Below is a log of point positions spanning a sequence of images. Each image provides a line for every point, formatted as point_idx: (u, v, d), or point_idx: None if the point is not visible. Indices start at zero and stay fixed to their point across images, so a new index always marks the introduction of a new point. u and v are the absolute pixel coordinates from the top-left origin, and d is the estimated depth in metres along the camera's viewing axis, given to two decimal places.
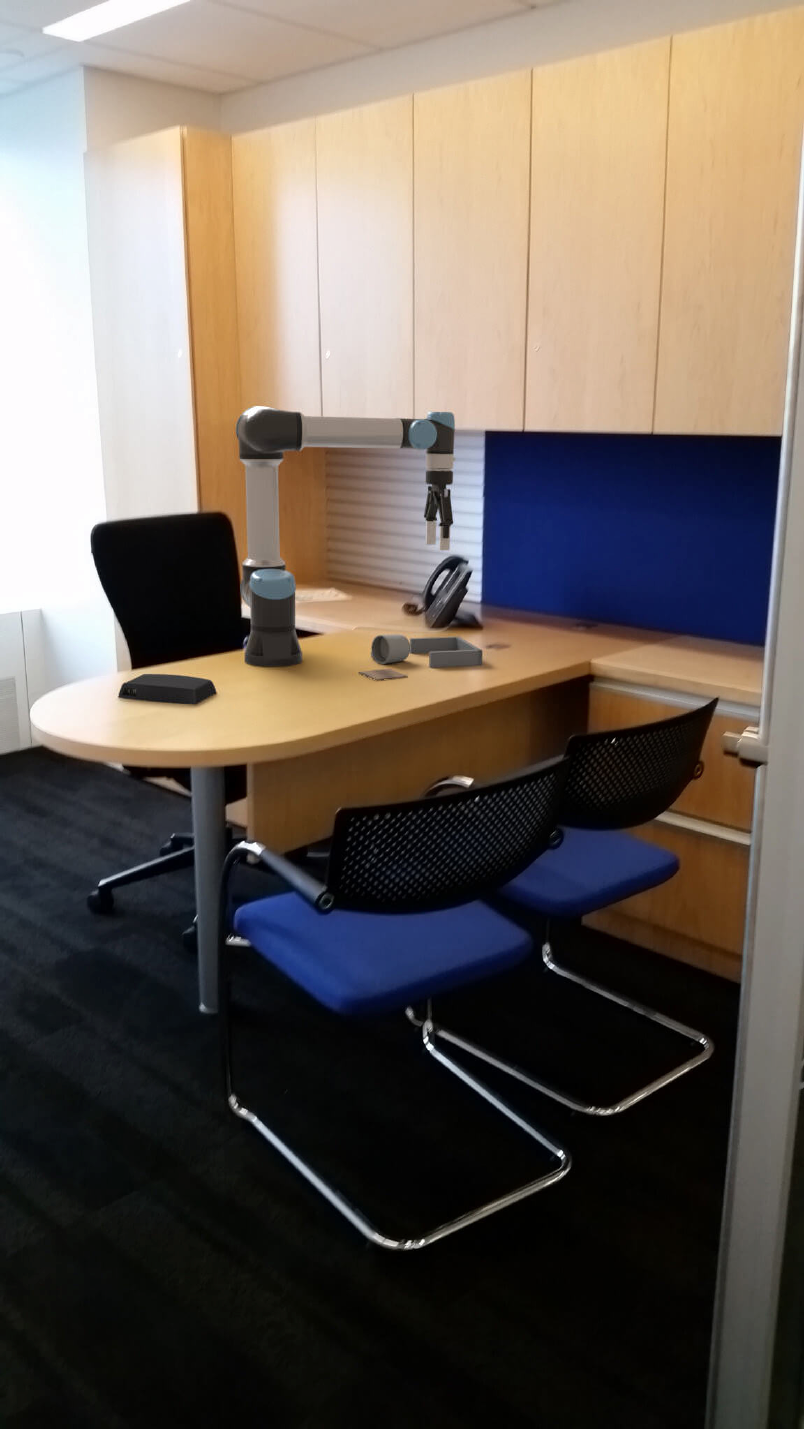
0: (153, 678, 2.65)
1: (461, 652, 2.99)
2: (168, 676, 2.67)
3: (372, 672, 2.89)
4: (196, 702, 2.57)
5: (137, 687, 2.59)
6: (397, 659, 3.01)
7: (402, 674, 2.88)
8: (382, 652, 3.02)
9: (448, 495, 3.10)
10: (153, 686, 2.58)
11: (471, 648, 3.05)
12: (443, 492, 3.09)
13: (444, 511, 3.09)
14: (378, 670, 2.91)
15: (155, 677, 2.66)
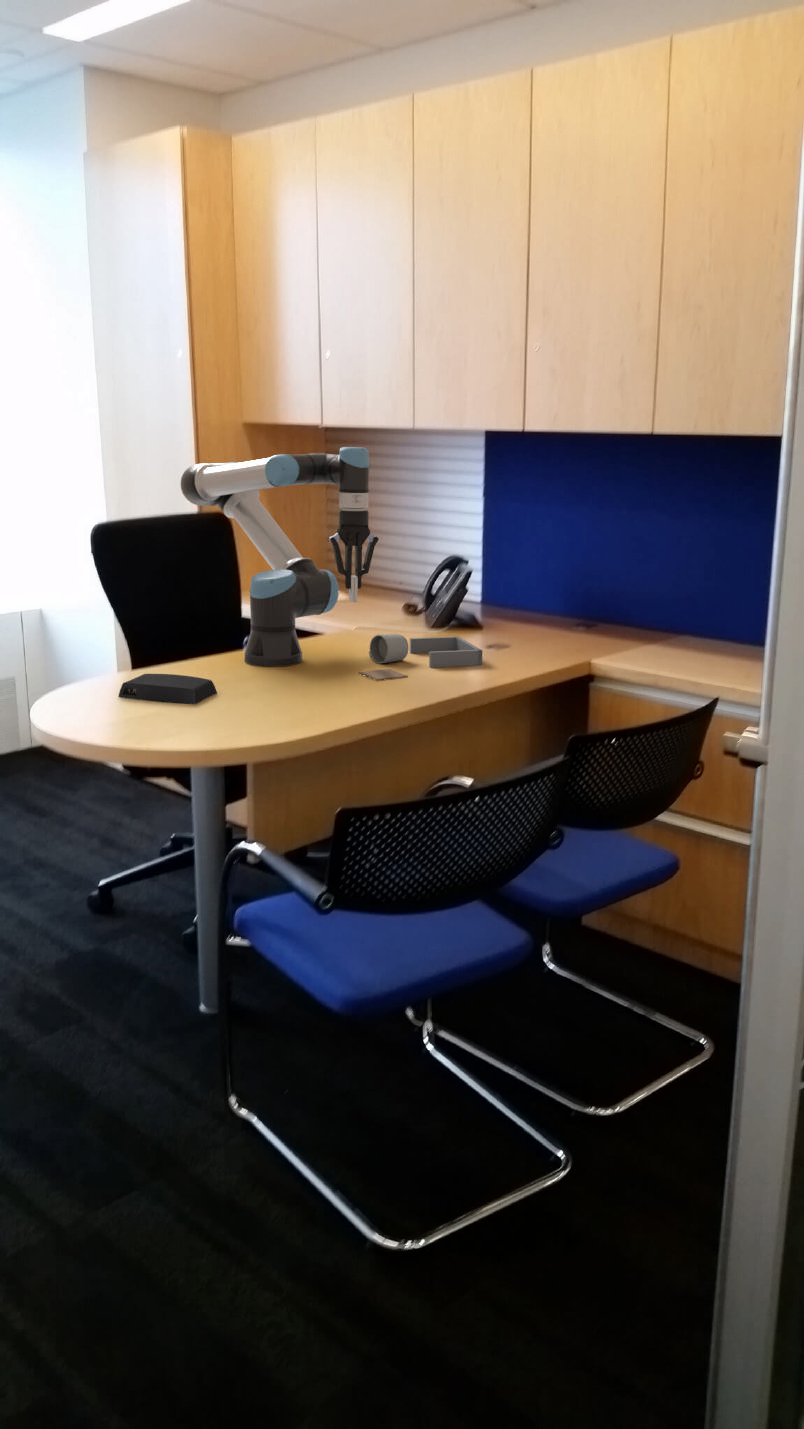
0: (153, 678, 2.65)
1: (461, 652, 2.99)
2: (169, 676, 2.67)
3: (372, 672, 2.89)
4: (195, 702, 2.57)
5: (137, 686, 2.60)
6: (395, 659, 3.02)
7: (402, 674, 2.88)
8: (380, 652, 3.02)
9: (332, 544, 2.91)
10: (153, 686, 2.58)
11: (471, 648, 3.05)
12: (330, 541, 2.92)
13: (336, 560, 2.94)
14: (378, 670, 2.91)
15: (156, 677, 2.66)
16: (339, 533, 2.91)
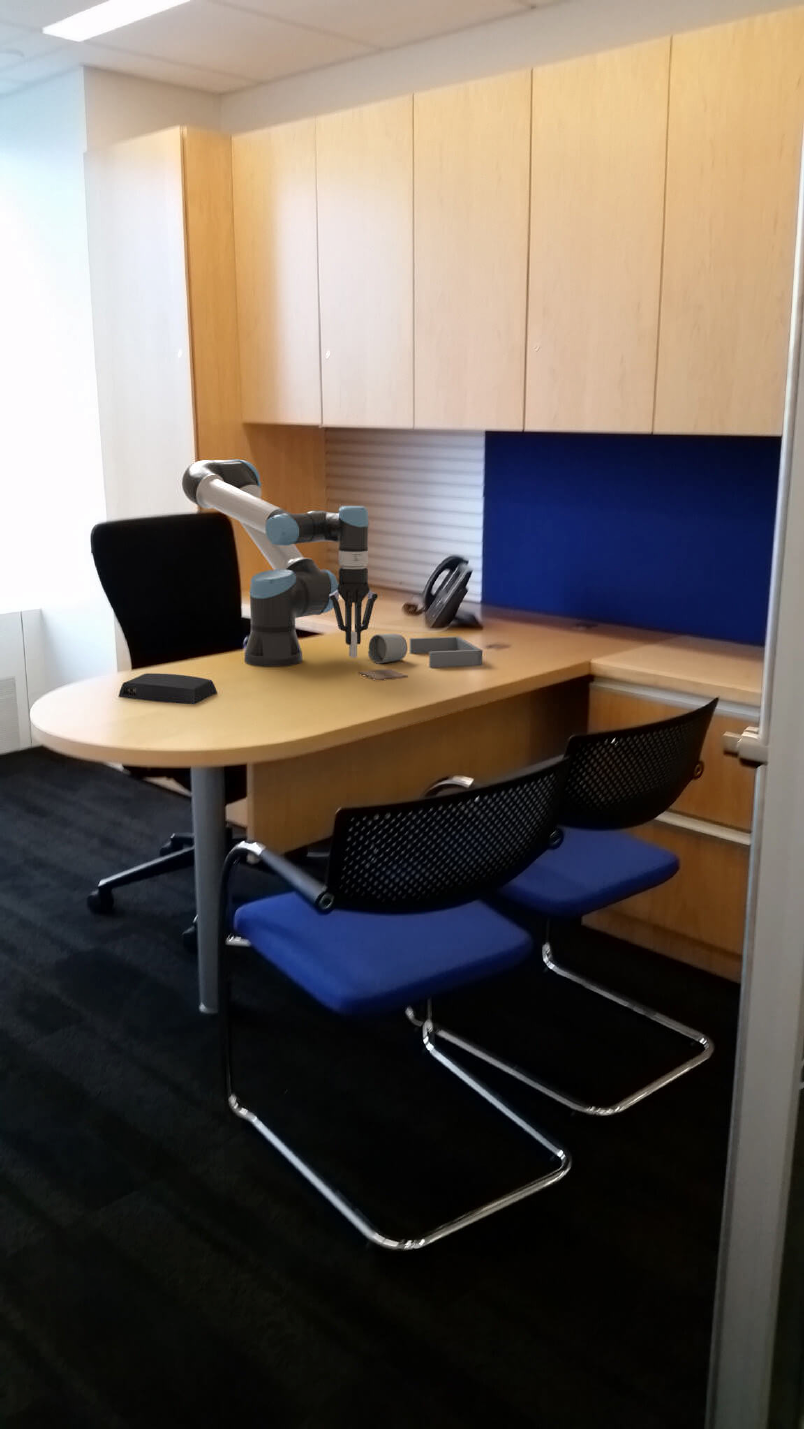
0: (154, 677, 2.65)
1: (461, 652, 2.99)
2: (169, 676, 2.67)
3: (372, 672, 2.89)
4: (195, 702, 2.57)
5: (137, 686, 2.60)
6: (394, 658, 3.02)
7: (402, 674, 2.88)
8: (379, 651, 3.02)
9: (332, 601, 2.95)
10: (153, 686, 2.58)
11: (471, 648, 3.05)
12: (330, 598, 2.96)
13: (336, 617, 2.98)
14: (378, 670, 2.91)
15: (156, 676, 2.66)
16: (339, 590, 2.95)
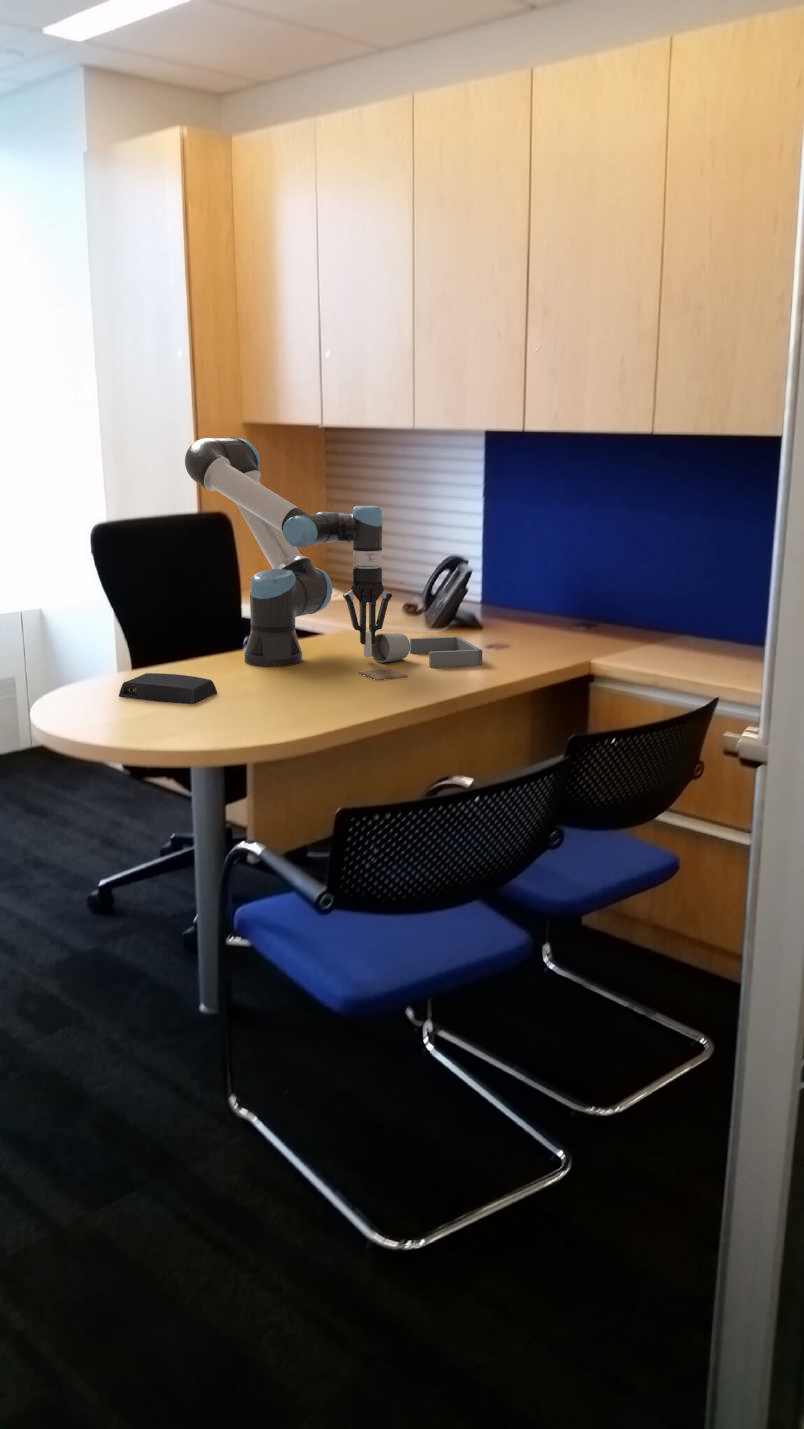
0: (154, 677, 2.65)
1: (461, 652, 2.99)
2: (169, 675, 2.67)
3: (372, 672, 2.89)
4: (195, 702, 2.57)
5: (137, 686, 2.60)
6: (397, 658, 3.02)
7: (402, 674, 2.88)
8: (382, 651, 3.03)
9: (347, 601, 2.96)
10: (153, 685, 2.59)
11: (471, 648, 3.05)
12: (344, 598, 2.97)
13: (350, 616, 2.99)
14: (378, 670, 2.91)
15: (156, 676, 2.66)
16: (353, 590, 2.96)
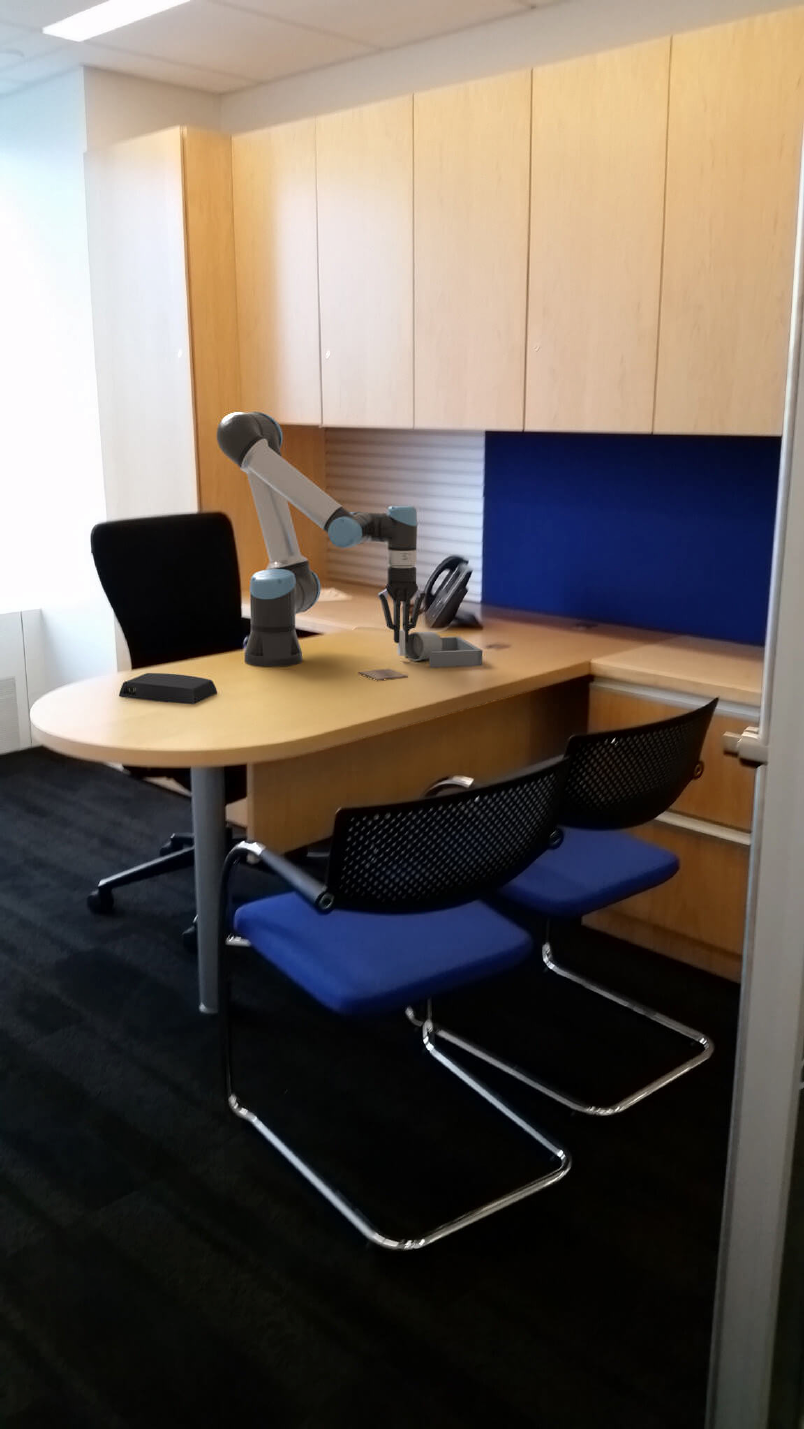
0: (154, 677, 2.66)
1: (461, 652, 2.99)
2: (170, 675, 2.67)
3: (372, 672, 2.89)
4: (194, 702, 2.57)
5: (137, 686, 2.60)
6: None
7: (402, 674, 2.88)
8: (415, 649, 3.06)
9: (381, 600, 2.99)
10: (152, 685, 2.59)
11: (471, 648, 3.05)
12: None
13: (384, 615, 3.01)
14: (378, 670, 2.91)
15: (156, 676, 2.67)
16: (388, 589, 2.98)
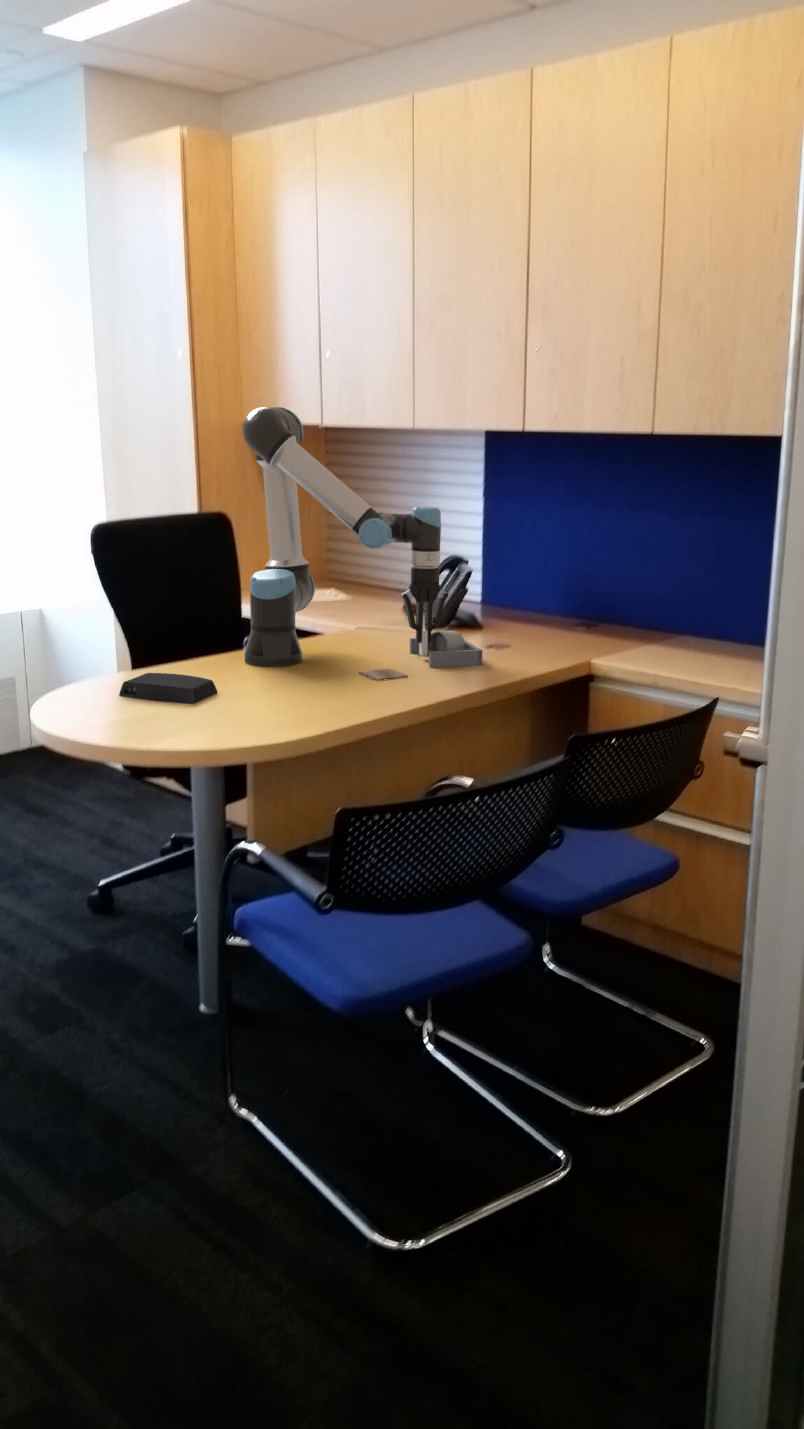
0: (155, 677, 2.66)
1: (461, 652, 2.99)
2: (170, 675, 2.68)
3: (372, 672, 2.89)
4: (194, 702, 2.57)
5: (137, 685, 2.60)
6: None
7: (402, 674, 2.88)
8: (438, 648, 3.08)
9: (405, 600, 3.00)
10: (152, 685, 2.59)
11: (471, 648, 3.05)
12: (402, 597, 3.02)
13: (407, 615, 3.03)
14: (378, 670, 2.91)
15: (157, 676, 2.67)
16: (411, 590, 3.00)
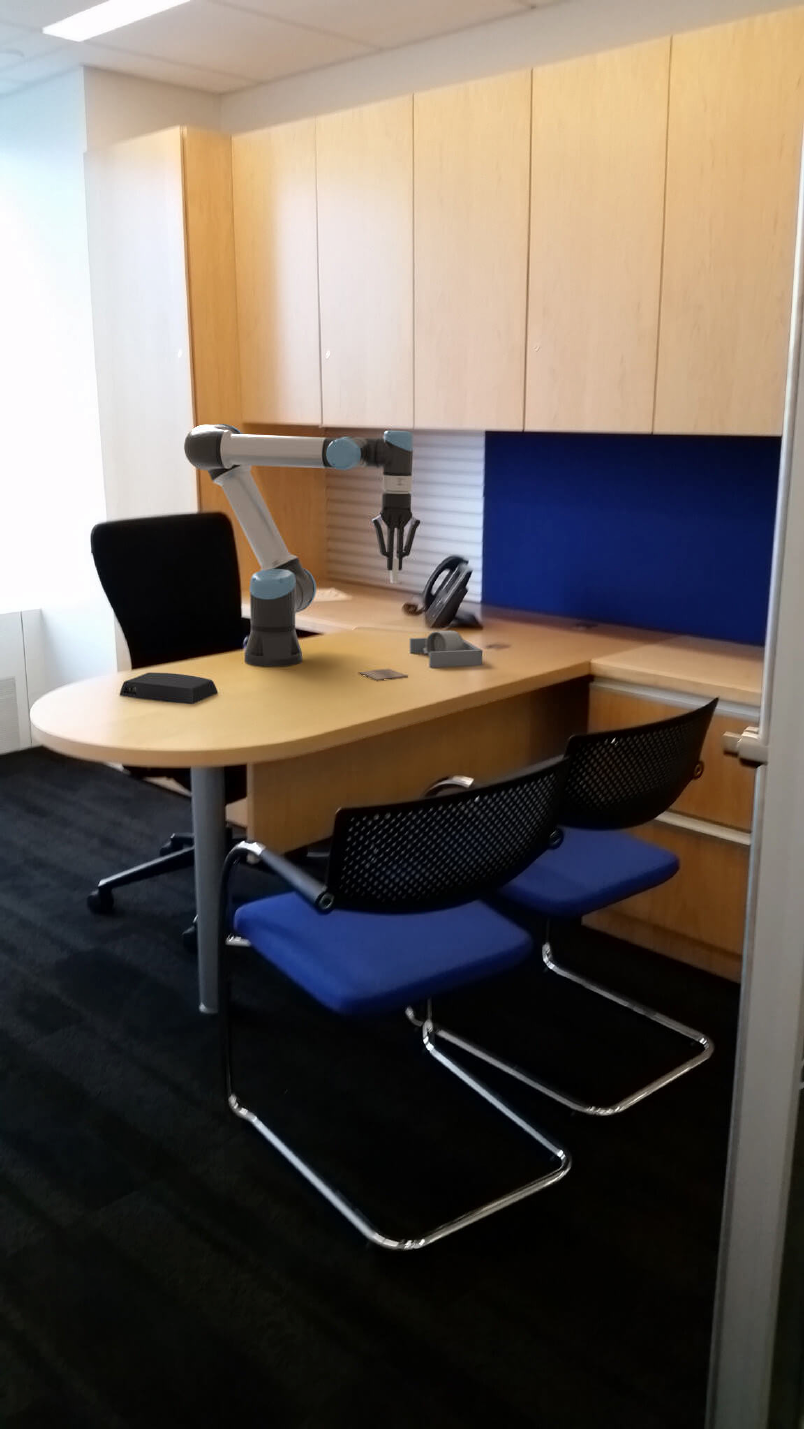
0: (155, 677, 2.66)
1: (461, 652, 2.99)
2: (171, 675, 2.68)
3: (372, 672, 2.89)
4: (193, 702, 2.57)
5: (137, 685, 2.61)
6: None
7: (402, 674, 2.88)
8: (437, 648, 3.08)
9: (375, 526, 2.97)
10: (152, 685, 2.59)
11: (471, 648, 3.05)
12: None
13: (378, 542, 2.99)
14: (378, 670, 2.91)
15: (157, 676, 2.67)
16: (382, 515, 2.96)
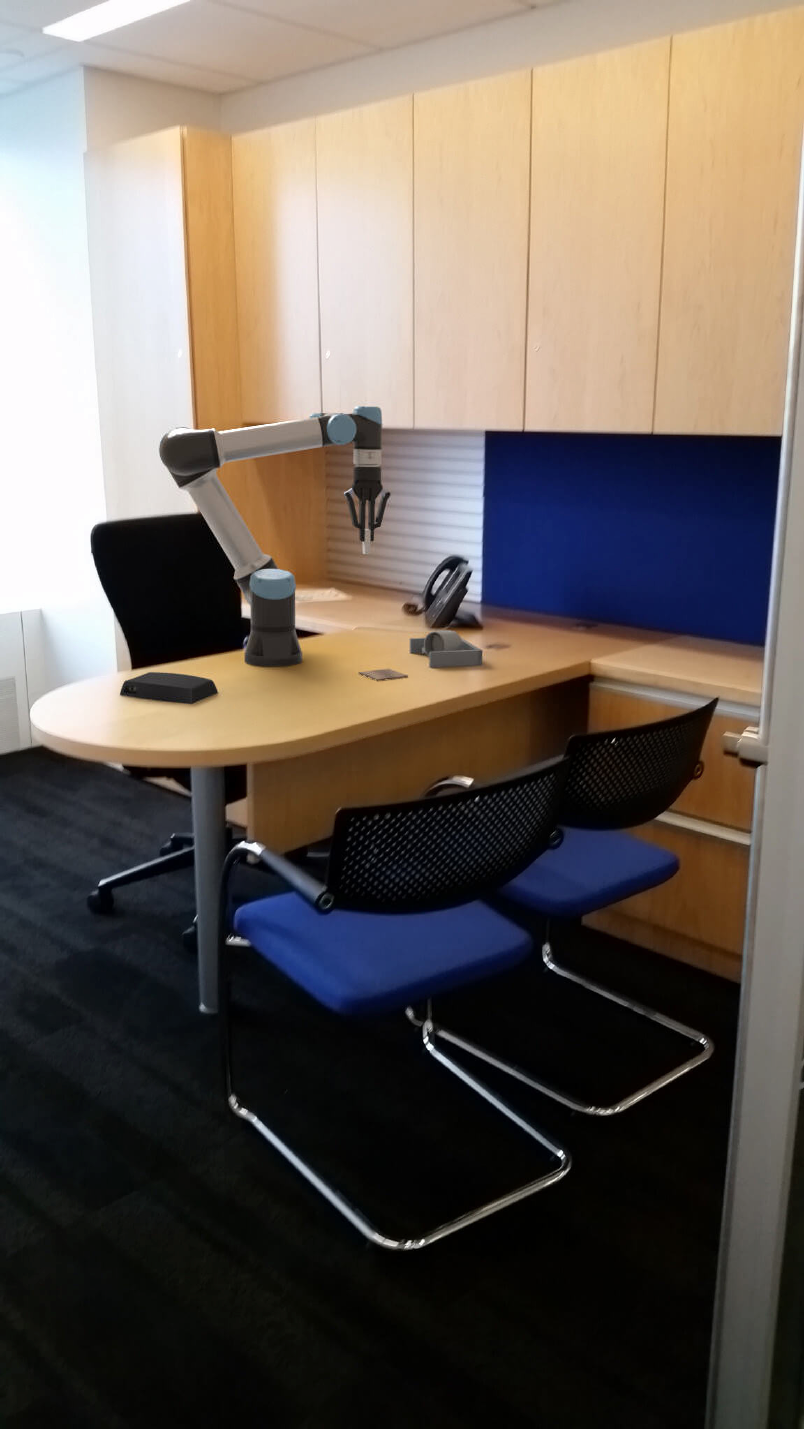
0: (156, 676, 2.66)
1: (461, 652, 2.99)
2: (171, 675, 2.68)
3: (372, 672, 2.89)
4: (193, 701, 2.57)
5: (137, 685, 2.61)
6: None
7: (402, 674, 2.88)
8: (435, 648, 3.08)
9: (347, 499, 3.08)
10: (152, 684, 2.60)
11: (471, 648, 3.05)
12: None
13: (350, 514, 3.11)
14: (378, 670, 2.91)
15: (158, 675, 2.67)
16: (353, 488, 3.07)
